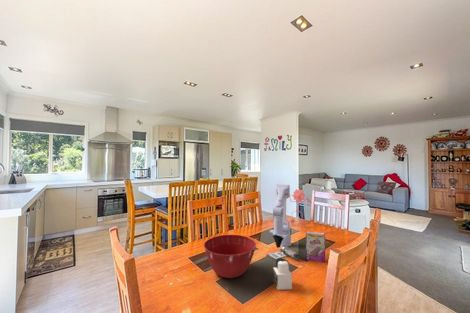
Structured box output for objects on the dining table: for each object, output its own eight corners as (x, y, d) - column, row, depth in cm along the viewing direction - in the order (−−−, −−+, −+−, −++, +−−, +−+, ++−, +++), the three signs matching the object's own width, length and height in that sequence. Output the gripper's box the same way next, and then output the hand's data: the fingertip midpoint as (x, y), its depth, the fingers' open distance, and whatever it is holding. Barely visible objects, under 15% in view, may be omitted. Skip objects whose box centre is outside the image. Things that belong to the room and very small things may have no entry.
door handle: (281, 250, 138) (281, 246, 138) (285, 250, 139) (285, 245, 139) (295, 259, 125) (295, 254, 125) (300, 258, 127) (299, 253, 127)
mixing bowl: (238, 294, 94) (238, 259, 94) (192, 275, 109) (192, 246, 110) (264, 268, 118) (264, 240, 118) (223, 256, 133) (223, 231, 133)
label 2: (278, 252, 139) (278, 251, 139) (286, 256, 133) (286, 255, 133) (274, 253, 137) (274, 252, 137) (281, 257, 131) (281, 256, 131)
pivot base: (285, 251, 141) (285, 249, 141) (291, 254, 136) (291, 252, 136) (278, 253, 138) (278, 251, 138) (285, 256, 133) (285, 254, 133)
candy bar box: (305, 260, 128) (305, 233, 128) (305, 256, 132) (305, 230, 133) (325, 263, 124) (325, 235, 125) (324, 259, 129) (324, 232, 129)
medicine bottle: (273, 281, 104) (273, 257, 104) (287, 281, 105) (286, 256, 105) (277, 290, 97) (277, 264, 97) (292, 289, 98) (291, 263, 98)
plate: (278, 251, 140) (278, 251, 140) (287, 257, 132) (287, 256, 132) (265, 255, 134) (265, 254, 134) (275, 260, 127) (275, 260, 127)
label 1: (273, 253, 136) (273, 252, 136) (280, 257, 130) (280, 256, 130) (268, 254, 134) (268, 254, 134) (276, 259, 128) (276, 258, 128)
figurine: (309, 229, 189) (309, 190, 191) (283, 224, 205) (283, 188, 207) (315, 226, 201) (314, 189, 203) (289, 221, 217) (289, 187, 219)
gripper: (266, 223, 139) (266, 244, 138) (281, 229, 126) (281, 252, 126) (274, 222, 142) (274, 242, 142) (290, 228, 130) (290, 250, 129)
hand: (278, 247), depth 134 cm, fingers closed
